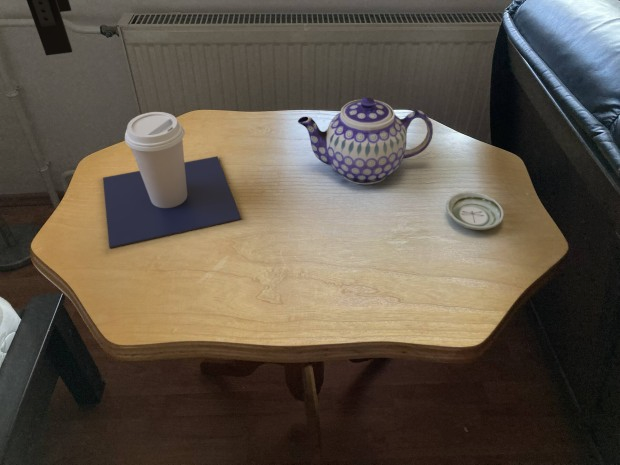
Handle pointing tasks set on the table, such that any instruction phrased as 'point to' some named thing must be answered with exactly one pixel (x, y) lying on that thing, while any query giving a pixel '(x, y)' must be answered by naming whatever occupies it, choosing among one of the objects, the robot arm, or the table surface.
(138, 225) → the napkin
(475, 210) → the saucer
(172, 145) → the coffee cup
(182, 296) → the table surface
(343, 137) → the teapot
